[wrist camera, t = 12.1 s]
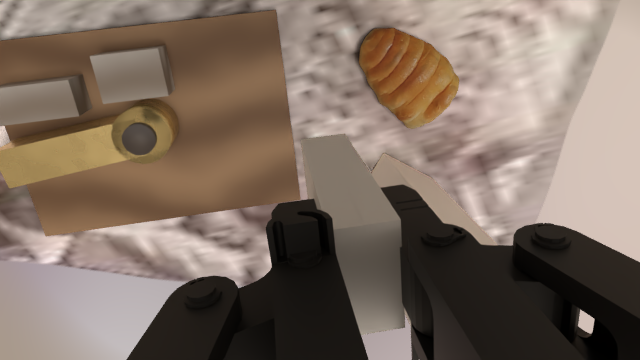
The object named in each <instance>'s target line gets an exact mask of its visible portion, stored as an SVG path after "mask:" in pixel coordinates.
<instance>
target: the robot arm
mask: <svg viewBox="0 0 640 360" xmlns="http://www.w3.org/2000/svg"><path fill="white" fill-rule="evenodd" d="M301 145H302V153H303V162H304V170H305V178H306V186H307V194H308V199H307V200H301V201H294V202H287V203H280V204H278V205H277V206H276V208H275V209H274V210H273V212H272V219H271V220H270V221H269V222H268V224H267V226H266V233H267V239H268V245H269V251H270V257H271V263H272V268H271V270H270V271H269V272H268V273H267V274H266V275H265V276H264V277H262V278H261V279H259V280H258V281H256V282H254V283H251V284H249V285H247V286H244V287H241V288H238V287H237V285H236V284H235V282H234V281H233V280H231V279H229V278H227V277H221V276H209V277H201V278H197V279H194V280H192V281H189V282H187V283H186V284H184V285H182V286H181V287H179V288H177V290H175V291H174V292H173V293H172V294H171V295H170V297H169V298H168V299H167V301H166V302H165V304H164V305H163V307H162V308H161V310H160V311H159V313H158V314H157V315H156V317H155V318H154V320H153V321H152V323H151V324H150V326H149V327H148V329H147V330H146V332H145V333H144V335H143V336H142V338H141V339H140V341H139V342H138V344H137V345H136V347H135V348H134V349H133V351H132V352H131V354H130V355H129V357H128V358H127V360H368V357H367V353H366V350H365V347H364V344H363V340H362V337H361V335H363V334H369V333H375V332H381V331H387V330H393V329H399V328H404V327H405V313H404V308H405V310H406V312H407V314H408V316H409V319H410V321H411V344H412V345H411V346H412V360H419V359H420V360H640V262H638V261H636V260H634V259H632V258H630V257H627V256H626V255H624V254H622V253H620V252H617V251H615V250H613V249H611V248H609V247H607V246H605V245H603V244H601V243H599V242H597V241H595V240H593V239H591V238H589V237H587V236H585V235H583V234H581V233H579V232H577V231H574V230H572V229H569V228H566V227H563V226H558V225H554V224H550V223H545V224H543V223H537V224H533V225H527V226H524V227H522V228H520V229H518V230H517V231H516V233H515V234H514V240H513V246H503V245H482V244H480V243H479V242H478V241H477V240H476V239H475V238H474V236H473V235H472V234H471V233H470V232H468V231H467V230H465V229H464V228H462V227H459V226H456V225H453V224H446V223H443V222H442V221H441V220H440V219H439V217H438V216H437V215H436V214H435V213H434V211H433V210H432V209H431V208H430V207H428V204H427V203H426V202H425V201H424V200H423V198H422V197H421V196H420V195H419V193H418V192H417V191H416V190H414V189H412V188H410V187H408V186H405V185H403V184H402V185H395V186H388V187H381V188H380V187H379V185H378V184H377V182H376V181H375V179H374V178H373V176H372V175H371V173H370V172H369V170H368V168H367V167H366V165H365V164H364V162H363V161H362V159H361V158H360V156H359V155H358V153H357V152H356V150H355V148H354V147H353V145H352V144H351V142H350V141H349V139H348V138H347V136H346V135H345V134H339V135H331V136H324V137H316V138H309V139H301ZM580 309H581V310H582V311H584V312H586V313H587V314H588V315H590V316H591V317H593V318H594V319H595V321H594V328H593V332H592V334H589V333H587V332H585V331H584V330H582V329H581V328H579V327H578V321H579V314H580Z"/></svg>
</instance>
